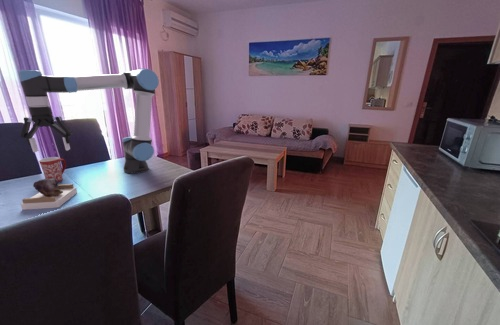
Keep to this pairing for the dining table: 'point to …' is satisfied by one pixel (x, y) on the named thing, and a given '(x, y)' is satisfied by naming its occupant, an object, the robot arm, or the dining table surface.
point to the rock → (47, 187)
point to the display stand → (49, 198)
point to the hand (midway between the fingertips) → (52, 150)
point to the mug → (52, 167)
